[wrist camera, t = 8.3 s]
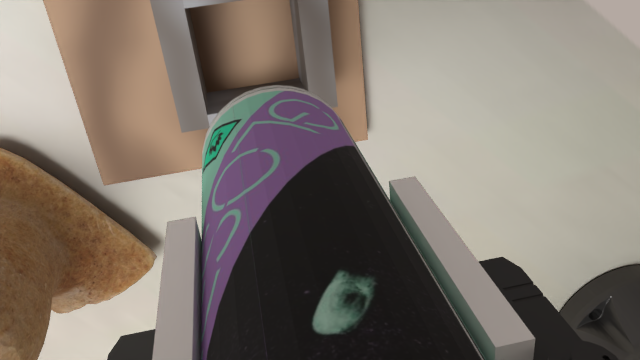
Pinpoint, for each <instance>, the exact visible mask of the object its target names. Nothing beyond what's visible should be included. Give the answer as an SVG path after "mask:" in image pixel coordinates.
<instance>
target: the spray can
mask: <svg viewBox="0 0 640 360" xmlns="http://www.w3.org/2000/svg"><path fill="white" fill-rule="evenodd" d="M201 360H486V359H485V357H484V356H483V354H482V352H481V351H480V349H479V347H478V346H477V344H476V342H475V341H474V339H473V337H472V336H471V334H470V332H469V331H468V329H467V327H466V326H465V324H464V323H463V321H462V319H461V318H460V316H459V314H458V313H457V311H456V309H455V308H454V306H453V304H452V303H451V301H450V299H449V298H448V296H447V294H446V293H445V291H444V289H443V288H442V286H441V284H440V283H439V281H438V279H437V278H436V276H435V274H434V273H433V271H432V269H431V268H430V266H429V264H428V263H427V261H426V260H425V258H424V256H423V255H422V253H421V251H420V250H419V248H418V246H417V245H416V243H415V241H414V240H413V238H412V236H411V235H410V233H409V231H408V230H407V228H406V226H405V225H404V223H403V221H402V220H401V218H400V216H399V215H398V213H397V211H396V210H395V208H394V206H393V205H392V203H391V201H390V200H389V198H388V197H387V195H386V193H385V192H384V190H383V188H382V187H381V185H380V183H379V182H378V180H377V178H376V177H375V175H374V173H373V172H372V170H371V168H370V167H369V165H368V163H367V162H366V160H365V158H364V157H363V155H362V153H361V152H360V150H359V148H358V147H357V145H356V143H355V142H354V140H353V138H352V137H351V135H350V134H349V132H348V130H347V129H346V127H345V125H344V124H343V122H342V120H341V119H340V117H339V116H338V115H337V114H336V112H335V111H334V110H333V109H332V108H331V107H330V106H329V104H328V103H326V102H325V101H324V100H322V99H321V98H320V97H318V96H317V95H315V94H313V93H311V92H309V91H306V90H304V89H301V88H297V87H292V86H283V85H272V86H265V87H259V88H256V89H253V90H250V91H247V92H245V93H243V94H241V95H240V96H238V97H236V98H234V99H233V100H231V101H230V102H229V103H228V104H227V105H226V106H225V107H223V108H222V109H221V110H220V112H219V113H218V114H217V116H216V117H215V118H214V120H213V121H212V123H211V125H210V127H209V129H208V131H207V133H206V137H205V141H204V145H203V151H202V290H201Z"/></svg>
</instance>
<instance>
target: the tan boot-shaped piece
mask: <svg viewBox="0 0 640 360" xmlns="http://www.w3.org/2000/svg"><path fill="white" fill-rule="evenodd" d="M156 257H157V256H156V255H155V253H154V252H153V251H152V250H151V249H150V248H149V247H147V246H146V245H145V244H144V243H142V242H141V241H140V240H138V239H137V238H136V237H135V236H134V235H133V234H132V233H130V232H129V231H128V230H126V229H125V228H124V227H122V226H121V225H120V224H118V223H117V222H116V221H114V220H113V219H112V218H110V217H109V216H108V215H106V214H105V213H104V212H102V211H101V210H99V209H98V208H97V207H96V206H94V205H93V204H92V203H90V202H89V201H87V200H86V199H85V198H83V197H82V196H81V195H79V194H78V193H77V192H75V191H74V190H72V189H71V188H69V187H68V186H67V185H65V184H64V183H62V182H61V181H59V180H58V179H56V178H55V177H53V176H52V175H50V174H48V173H47V172H45V171H44V170H42V169H41V168H39V167H38V166H36V165H35V164H33V163H31V162H30V161H28V160H26V159H25V158H23V157H21V156H18V155H16V154H14V153H12V152H10V151H7V150H5V149H2V148H0V360H37V359H38V357H39V354H40V352H41V349H42V347H43V344H44V341H45V337H46V333H47V329H48V325H49V320H50V313H51V310H53V311H55V312H56V313H69V312H71V311H73V310H76V309H79V308H81V307H83V306H85V305H86V304H97V303H100V302H102V301H105V300H110V299H111V298H113V297H114V296H116V295H118V294H120V293H122V292H123V291H125V290H126V289H127V288H129V287H130V286H131V285H133V284H134V283H136V282H137V281H138V280H139V279H141V278H142V277H143V276H144V275H145V274H146V273H147V272H148V271H149V270H150V269H151V268H152V267H153V264H154V260H155V259H156Z"/></svg>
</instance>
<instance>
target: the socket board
mask: <svg viewBox="0 0 640 360" xmlns="http://www.w3.org/2000/svg"><path fill="white" fill-rule="evenodd" d="M43 2H44V5H45V8H46V11H47V14H48V17H49V20H50V23H51V26H52V29H53V32H54V35H55V38H56V41H57V44H58V47H59V50H60V53H61V56H62V60H63V63H64V66H65V69H66V72H67V75H68V78H69V81H70V84H71V87H72V90H73V93H74V96H75V99H76V102H77V105H78V108H79V111H80V114H81V117H82V120H83V123H84V126H85V130H86V133H87V136H88V139H89V142H90V145H91V148H92V151H93V154H94V157H95V160H96V163H97V166H98V169H99V172H100V175H101V178H102V181H103V184H104V185H109V184H115V183H121V182H126V181H132V180H138V179H144V178H149V177H155V176H161V175H167V174H172V173H178V172H184V171H190V170H195V169H201V168H202V151H203V145H204V141H205V137H206V133H207V131H208V129H209V127H210V125H211V123H212V121H213V120H214V118H215V117H216V116H217V114H218V113H219V112H220V110H221V109H222V108H223V107H225V106H226V105H227V104H228V103H229V102H230V101H231V100H233V99H234V98H236V97H238V96H240V95H241V94H243V93H245V92H247V91H250V90H253V89H256V88H259V87H265V86H272V85H283V86H292V87H297V88H301V89H304V90H306V91H309V92H311V93H313V94H315V95H317V96H318V97H320V98H321V99H322V100H324V101H325V102H326V103H328V104H329V106H330V107H331V108H332V109H333V110H334V111H335V112H336V114H337V115H338V116H339V117H340V119H341V120H342V122H343V124H344V125H345V127H346V129H347V130H348V132H349V134H350V135H351V137H352V138H353V140H354V142H357V141H362V140H368V134H367V120H366V106H365V92H364V78H363V63H362V49H361V35H360V21H359V7H358V0H43Z"/></svg>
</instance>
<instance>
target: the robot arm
mask: <svg viewBox="0 0 640 360" xmlns="http://www.w3.org/2000/svg"><path fill="white" fill-rule="evenodd" d="M389 187H390V201H391V203H392V205H393V206H394V208H395V210H396V211H397V213H398V215H399V216H400V218H401V220H402V221H403V223H404V225H405V226H406V228H407V230H408V231H409V233H410V235H411V236H412V238H413V240H414V241H415V243H416V245H417V246H418V248H419V250H420V251H421V253H422V255H423V256H424V258H425V260H426V261H427V263H428V264H429V266H430V268H431V269H432V271H433V273H434V274H435V276H436V278H437V279H438V281H439V283H440V284H441V286H442V288H443V289H444V291H445V293H446V294H447V296H448V298H449V299H450V301H451V303H452V304H453V306H454V308H455V309H456V311H457V313H458V314H459V316H460V318H461V319H462V321H463V323H464V324H465V326H466V327H467V329H468V331H469V332H470V334H471V336H472V337H473V339H474V341H475V342H476V344H477V346H478V347H479V349H480V351H481V352H482V354H483V356H484V357H485V359H486V360H640V265H634V266H627V267H623V268H619V269H616V270H613V271H611V272H608V273H606V274H604V275H602V276H600V277H598V278H596V279H595V280H593V281H591V282H590V283H588V284H587V285H586V286H584V287H583V288H582V289H580V290H579V291H578V292H577V293H576V294H575V295H574V296H573V297H572V298H571V299H570V300H569V301H568V302H567V303H566V305H565V306H564V307H563V309H562V310H561V311H560V313H559V312H558V311H557V310H556V309H555V308H554V306H553V305H552V304H551V303H550V302H549V300H548V299H547V298H546V297H544V296H543V293H542V292H541V291H540V290H539V289H538V287H537V286H536V285H534V284H533V281H532V280H531V279H530V278H529V277H528V276H527V274H526V273H525V272H524V271H523V270H522V268H521V267H519V266H517V265H515V264H514V263H512V262H510V261H509V260H507V259H505V258H503V257H499V258H494V259H489V260H484V261H479V262H478V261H477V259H476V258H475V257H474V255H473V254H472V252H471V251H470V250H469V248H468V247H467V246H466V244H465V243H464V242H463V240H462V239H461V238H460V236H459V235H458V234H457V232H456V231H455V230H454V228H453V227H452V226H451V224H450V223H449V221H448V220H447V219H446V217H445V216H444V215H443V213H442V212H441V211H440V209H439V208H438V207H437V205H436V204H435V203H434V201H433V200H432V199H431V197H430V196H429V195H428V193H427V192H426V190H425V189H424V188H423V186H422V185H421V184H420V182H419V181H418V180H417V178H416V177H415V176H414V177H409V178H403V179H398V180H393V181H389ZM201 290H202V241H201V237H200V233H199V229H198V225H197V221H196V217H191V218H186V219H180V220H175V221H169V222H167V229H166V238H165V247H164V256H163V265H162V275H161V284H160V293H159V302H158V311H157V320H156V329H154V330H149V331H144V332H139V333H134V334H129V335H124V336H121V337H120V339H119V340H118V342H117V343H116V344H115V346H114V347H113V349H112V350H111V352H110V353H109V355H108V359H107V360H201Z"/></svg>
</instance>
